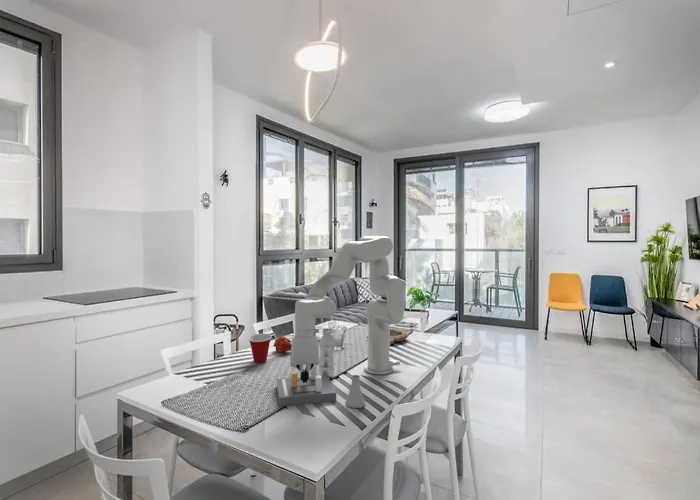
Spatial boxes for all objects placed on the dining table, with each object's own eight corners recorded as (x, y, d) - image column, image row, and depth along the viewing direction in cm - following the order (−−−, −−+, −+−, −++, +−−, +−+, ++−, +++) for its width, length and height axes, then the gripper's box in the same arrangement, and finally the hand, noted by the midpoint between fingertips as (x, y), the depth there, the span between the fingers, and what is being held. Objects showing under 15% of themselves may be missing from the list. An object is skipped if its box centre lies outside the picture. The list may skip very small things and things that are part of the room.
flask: (363, 410, 127) (364, 381, 127) (342, 407, 128) (343, 379, 128) (367, 401, 134) (367, 373, 134) (347, 399, 135) (347, 371, 135)
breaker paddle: (296, 384, 140) (296, 371, 140) (297, 387, 138) (297, 373, 138) (291, 385, 140) (291, 371, 140) (291, 387, 137) (291, 374, 137)
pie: (367, 333, 233) (368, 325, 232) (412, 335, 230) (412, 327, 230) (365, 346, 205) (365, 337, 205) (415, 348, 202) (415, 339, 202)
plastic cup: (243, 363, 173) (243, 337, 172) (257, 356, 183) (257, 332, 182) (262, 366, 169) (262, 340, 168) (276, 359, 179) (276, 334, 178)
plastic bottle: (318, 374, 160) (318, 327, 159) (334, 373, 161) (334, 327, 160) (318, 379, 154) (318, 331, 153) (334, 379, 154) (335, 331, 154)
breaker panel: (326, 382, 151) (327, 362, 151) (336, 401, 134) (336, 378, 133) (276, 386, 146) (276, 365, 146) (279, 406, 129) (279, 383, 128)
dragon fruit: (276, 352, 196) (291, 360, 189) (266, 345, 190) (281, 353, 183) (284, 337, 199) (300, 345, 192) (275, 330, 193) (290, 338, 186)
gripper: (323, 329, 145) (322, 376, 145) (284, 331, 141) (283, 379, 141) (326, 334, 137) (326, 383, 138) (285, 336, 134) (285, 387, 134)
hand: (304, 381), depth 140 cm, fingers closed
